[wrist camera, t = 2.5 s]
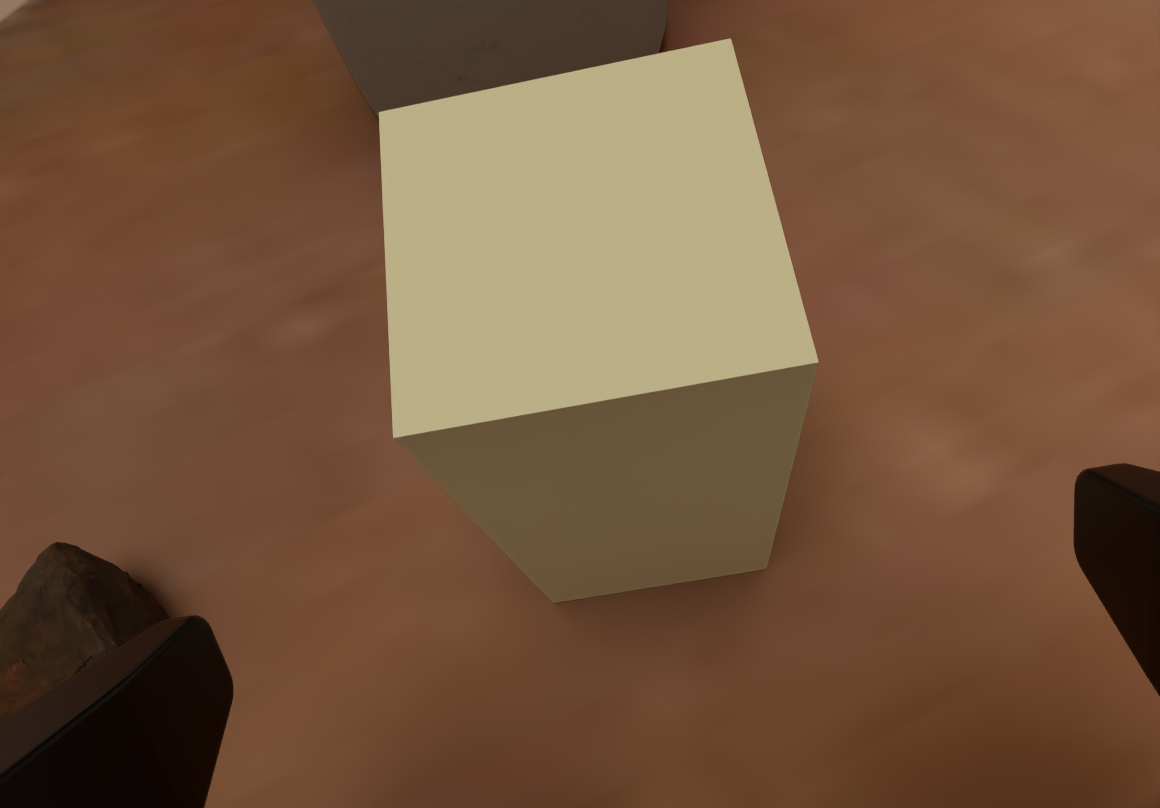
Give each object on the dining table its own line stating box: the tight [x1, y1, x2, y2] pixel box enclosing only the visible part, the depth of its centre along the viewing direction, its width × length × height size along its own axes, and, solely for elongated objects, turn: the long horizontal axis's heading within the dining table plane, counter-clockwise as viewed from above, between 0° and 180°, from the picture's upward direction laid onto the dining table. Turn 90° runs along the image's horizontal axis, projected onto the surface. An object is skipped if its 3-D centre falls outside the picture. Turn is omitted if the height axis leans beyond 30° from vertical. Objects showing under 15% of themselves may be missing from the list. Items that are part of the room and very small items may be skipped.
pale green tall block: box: [379, 38, 819, 603], centre depth 16 cm, size 5×5×11 cm
